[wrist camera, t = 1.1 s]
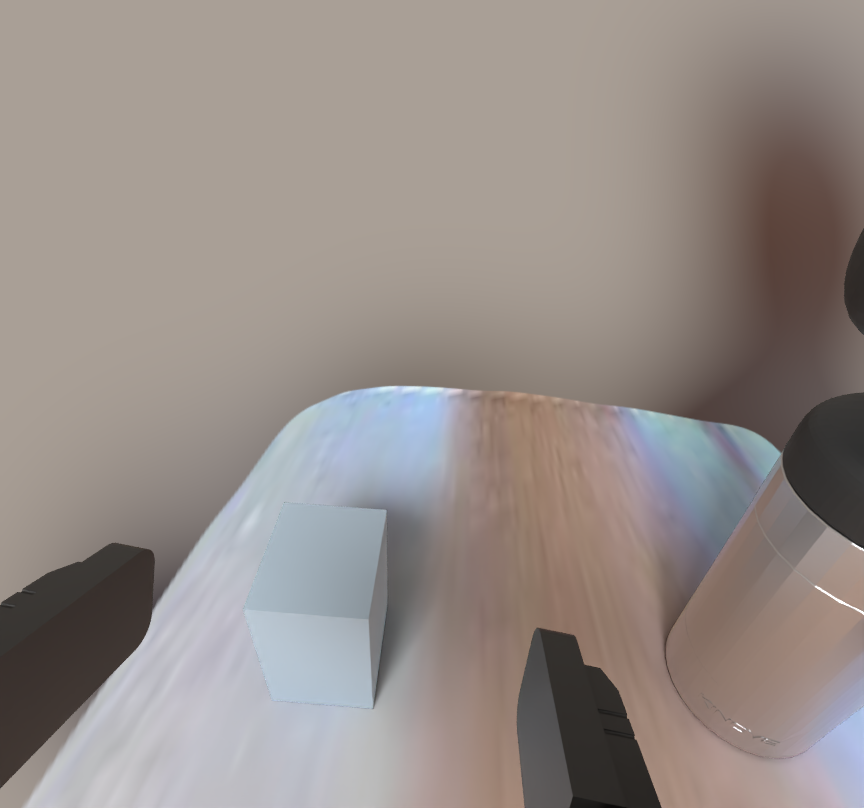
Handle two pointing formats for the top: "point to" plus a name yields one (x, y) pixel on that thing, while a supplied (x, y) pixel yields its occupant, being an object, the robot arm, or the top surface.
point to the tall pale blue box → (321, 604)
